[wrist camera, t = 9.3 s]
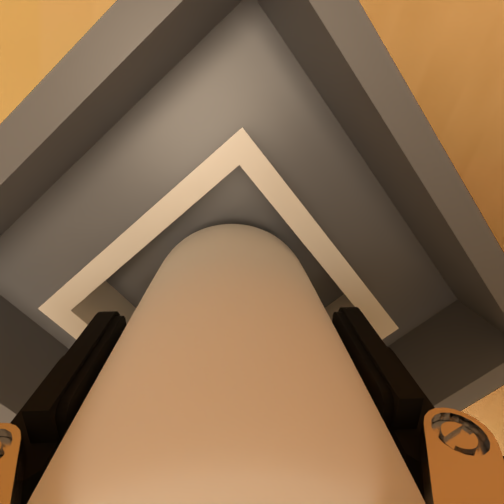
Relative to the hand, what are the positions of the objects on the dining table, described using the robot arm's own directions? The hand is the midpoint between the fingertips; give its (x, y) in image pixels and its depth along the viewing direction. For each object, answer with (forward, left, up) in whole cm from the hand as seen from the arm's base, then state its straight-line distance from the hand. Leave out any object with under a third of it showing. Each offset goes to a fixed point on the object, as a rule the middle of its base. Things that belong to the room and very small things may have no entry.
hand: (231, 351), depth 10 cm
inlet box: (0, 0, -6) cm, 6 cm away
